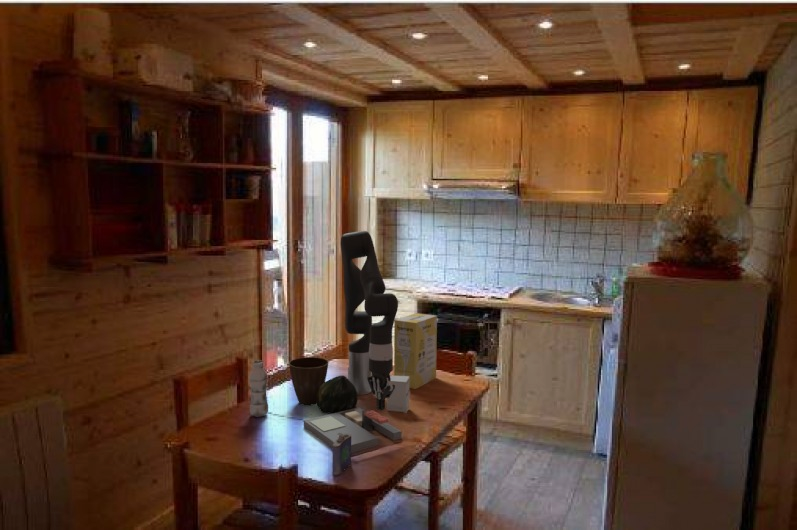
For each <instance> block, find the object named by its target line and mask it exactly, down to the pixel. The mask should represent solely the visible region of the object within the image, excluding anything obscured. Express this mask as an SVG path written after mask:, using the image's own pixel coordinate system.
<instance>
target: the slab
mask: <svg viewBox="0 0 797 530" xmlns="http://www.w3.org/2000/svg"><path fill="white" fill-rule="evenodd" d="M345 417H346V418H347V419H349V420H351V421H352V422H354V423H355V424H357V425H359V426H360V427H362V414H360V413H358V412H356V411H352V412H348V413H345Z"/></svg>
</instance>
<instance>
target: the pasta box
mask: <svg viewBox="0 0 797 530" xmlns="http://www.w3.org/2000/svg"><path fill="white" fill-rule="evenodd" d="M437 328H438V315H433V314H428V313H427V314H426V313H418V312H417V313H412V314H409V315H407V316H404V317H403V316H402V317H400V318H397V319H396V318H395V320H394V324H393V329H394V333H393V334H394V335H393V336H394V337H393V338H394V340H393V342H394V343H393V346H394V348H393V349H394V350H393V365H394V366H393V376H409V389H414V390H416V389H418V388H420V387H422V386H424V385H426V384H428V383H429V382H432V381H433V380H435V379H437V353H438V351H437V347H438V346H437V341H438V339H437V337H438V336H437V335H438V334H437V333H438V329H437ZM434 378H435V379H434Z"/></svg>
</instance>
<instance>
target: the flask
mask: <svg viewBox="0 0 797 530" xmlns="http://www.w3.org/2000/svg"><path fill="white" fill-rule="evenodd" d="M338 435H339V437H338V439H337V440H336V441H335V442H334V444H333V446H332V447H333V449H332V471H331V472H332V476H336V477H339V476H340V474H341V473H342V474H343V473H344V472H345V471H344V469H345V470H347V468H349V467H350V466H351V465H352V457H351V456H352V453H351V435H350V434H344V435H343V434H342V433H341V434H340V433H338ZM348 466H349V467H348ZM343 471H344V472H343ZM342 474H341V475H342Z"/></svg>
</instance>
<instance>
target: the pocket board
mask: <svg viewBox="0 0 797 530" xmlns="http://www.w3.org/2000/svg"><path fill="white" fill-rule="evenodd" d="M364 410H365V409H364V408H361V407H360V406H359V407H358V406H357V407H355V408H354V409H350V410H346V411H341V412H337V413H333V414H330V413H328V414H325V415H321V416H316V417H313V418H308V419H304V420H303V428H304V429H305V430H306V431H308V432H309V433H311V434H312V435H313V436H314V437H316V438H317V439H319V440H320V441H322V442H323V443H325V445H327V446H328V447H330V448H331V449H332V450H333V447H332V446H333V444H334V442H335V441H336V440H337V439H338V437H339V435H338V433H340V434H341V433H342V434H343V435H344V434H350V435H351V454H352V453H355V452H359V451H363V450H366V449H370V448H373V447H376V446H378V445H379V437H378V436H377V435H375V434H374V433H371V431H369V432H368V431H367V430H365V429H364V428H362V427H360V426H359V425H357V424H355V423H354V422H352V421H351V420H349V419H347V418H346V417H344V416H345V413H348V412H352V411H356V412H358V413H360V414H362V411H364ZM372 425H373V426H374V428H373V429H374V430H375V431H377V432H378V433H381V434H382V435H384V436H386V437H387V438H388V439H391V440H392V441H397V440H401V439H402V432H403V431H402V430H400V429H399V428H397V427H395V426H393V425H392V424H390V423H389V422H387V423H383V424H379V423H377V422H376V421H374V420H372ZM401 443H402V441H399V442H396V443H394V445H398V444H401ZM377 450H378V448H375V449H372V450H369V451H365V452H361V453H357V454H355V455H354V454H353V455H351V458H353V457H356V456H360V455H363V454H366V453H370V452H373V451H377Z"/></svg>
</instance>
